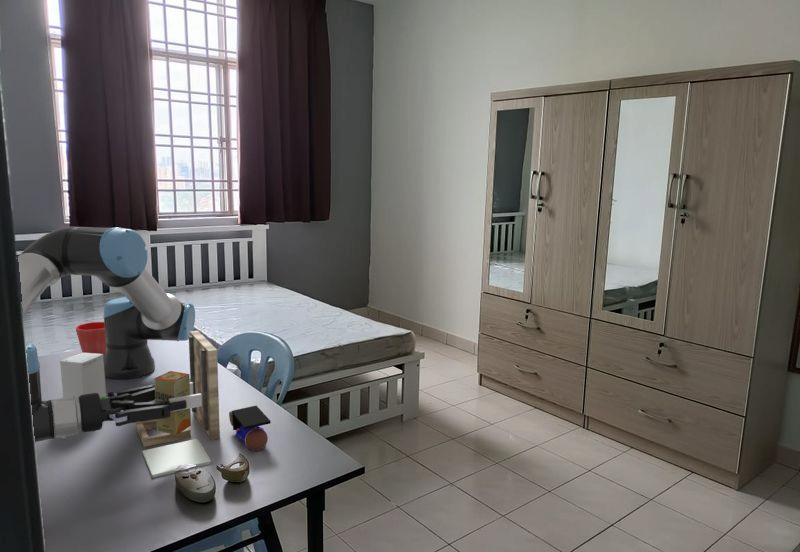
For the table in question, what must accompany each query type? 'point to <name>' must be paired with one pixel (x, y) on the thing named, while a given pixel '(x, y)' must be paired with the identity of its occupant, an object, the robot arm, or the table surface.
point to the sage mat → (175, 457)
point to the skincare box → (83, 375)
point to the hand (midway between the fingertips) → (196, 393)
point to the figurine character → (250, 426)
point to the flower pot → (92, 337)
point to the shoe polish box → (171, 388)
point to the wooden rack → (204, 383)
